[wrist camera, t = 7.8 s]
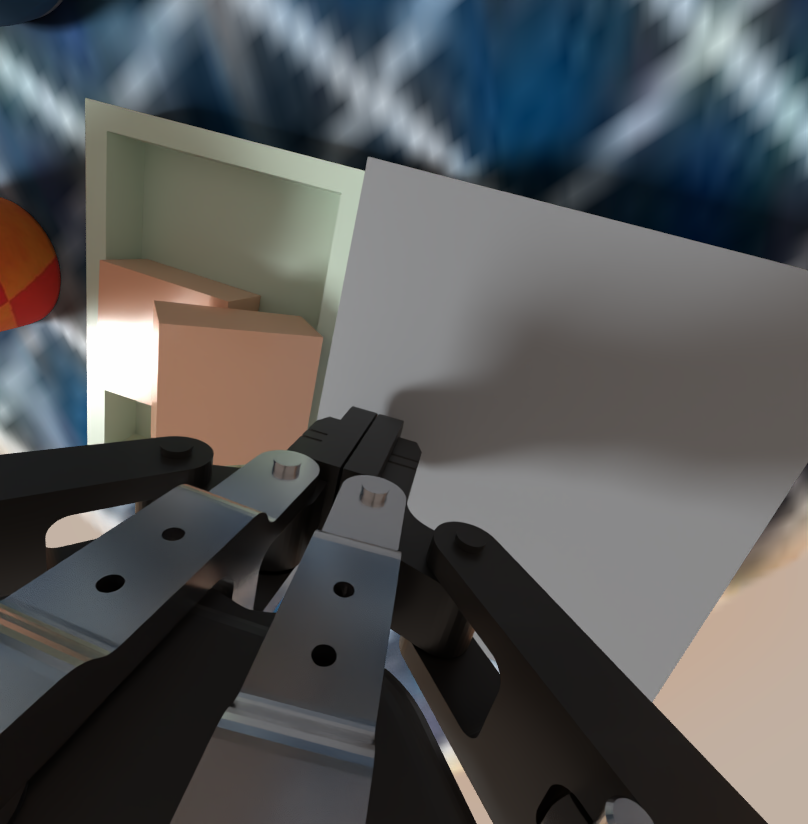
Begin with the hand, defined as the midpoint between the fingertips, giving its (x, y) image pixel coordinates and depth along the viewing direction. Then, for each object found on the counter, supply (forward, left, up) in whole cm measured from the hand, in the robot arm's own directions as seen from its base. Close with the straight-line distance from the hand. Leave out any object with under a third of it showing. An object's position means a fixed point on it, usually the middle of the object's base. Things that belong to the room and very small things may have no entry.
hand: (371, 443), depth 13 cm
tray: (0, -8, -7) cm, 10 cm away
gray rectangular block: (0, +5, -7) cm, 8 cm away
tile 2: (+1, -5, -2) cm, 5 cm away
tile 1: (0, -9, -4) cm, 10 cm away
